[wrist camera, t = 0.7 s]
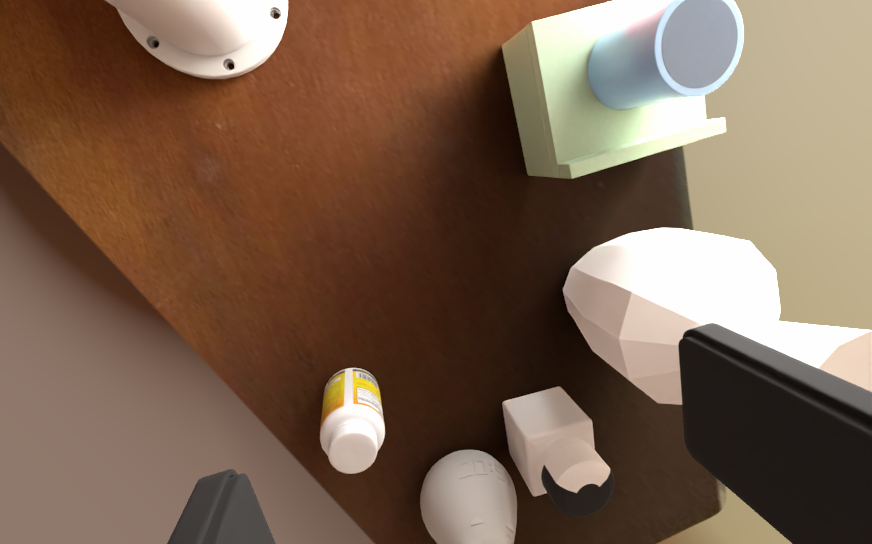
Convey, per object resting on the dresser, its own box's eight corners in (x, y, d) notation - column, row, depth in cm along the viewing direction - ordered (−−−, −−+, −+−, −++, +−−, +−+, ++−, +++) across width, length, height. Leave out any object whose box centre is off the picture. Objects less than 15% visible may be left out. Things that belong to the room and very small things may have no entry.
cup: (581, 35, 34) (648, -2, 26) (654, 15, 34) (741, -27, 27) (594, 119, 36) (660, 107, 28) (663, 99, 36) (747, 82, 29)
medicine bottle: (565, 437, 51) (627, 516, 40) (508, 453, 50) (554, 539, 39) (560, 384, 50) (622, 451, 38) (500, 400, 49) (546, 473, 37)
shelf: (501, 45, 39) (542, 13, 31) (639, 9, 41) (715, -32, 32) (527, 175, 43) (571, 179, 34) (654, 137, 44) (726, 132, 36)
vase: (580, 363, 49) (795, 551, 26) (516, 267, 45) (702, 384, 21) (680, 289, 49) (987, 406, 26) (626, 185, 45) (935, 210, 21)
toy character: (516, 446, 50) (565, 530, 39) (484, 521, 52) (522, 622, 41) (434, 429, 48) (460, 512, 36) (403, 508, 50) (419, 612, 38)
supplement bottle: (325, 416, 45) (318, 486, 35) (323, 367, 44) (315, 426, 34) (379, 411, 46) (387, 478, 36) (379, 363, 45) (387, 419, 35)
